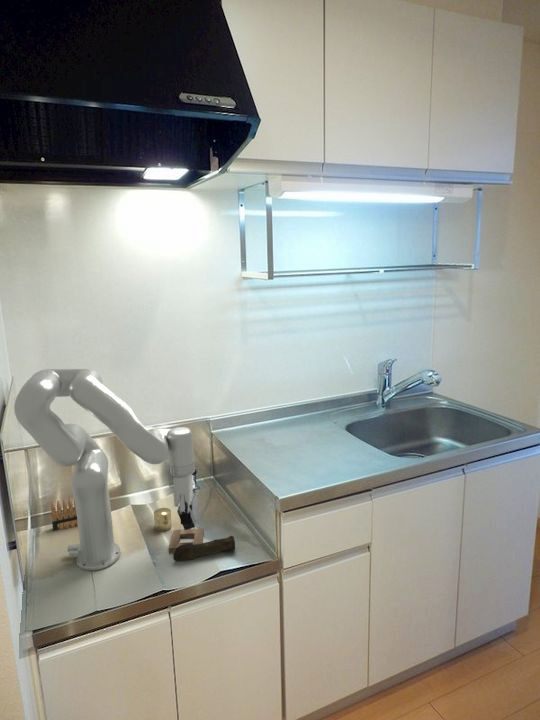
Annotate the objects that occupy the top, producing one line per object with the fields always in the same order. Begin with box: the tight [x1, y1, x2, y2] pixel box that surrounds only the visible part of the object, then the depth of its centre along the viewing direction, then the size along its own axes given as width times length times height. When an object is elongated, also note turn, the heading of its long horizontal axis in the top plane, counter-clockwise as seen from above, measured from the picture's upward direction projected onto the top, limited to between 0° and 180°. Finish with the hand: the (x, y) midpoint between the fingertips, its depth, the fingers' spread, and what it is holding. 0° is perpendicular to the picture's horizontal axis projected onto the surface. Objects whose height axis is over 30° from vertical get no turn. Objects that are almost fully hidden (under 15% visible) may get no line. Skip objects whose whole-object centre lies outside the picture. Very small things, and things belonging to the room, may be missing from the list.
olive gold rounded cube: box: [153, 507, 173, 533], centre depth 154 cm, size 6×6×6 cm
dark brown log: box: [172, 535, 236, 562], centre depth 140 cm, size 19×4×5 cm, turn 106°
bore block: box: [168, 527, 205, 554], centre depth 146 cm, size 10×10×2 cm
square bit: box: [177, 504, 197, 530], centre depth 145 cm, size 3×3×7 cm
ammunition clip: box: [50, 497, 78, 532], centre depth 154 cm, size 11×2×12 cm, turn 113°
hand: (186, 519), depth 145 cm, fingers closed on square bit, 3 cm apart
